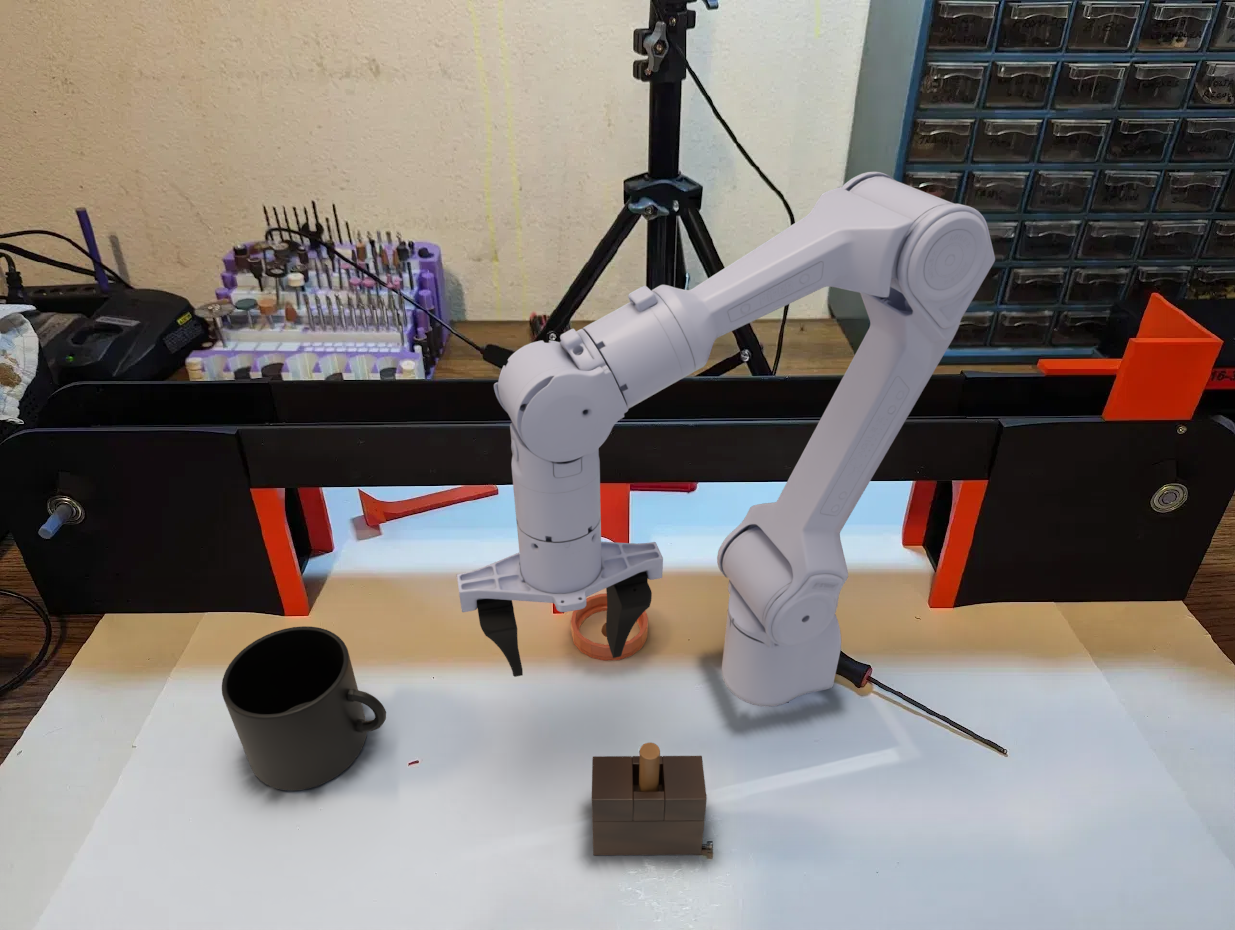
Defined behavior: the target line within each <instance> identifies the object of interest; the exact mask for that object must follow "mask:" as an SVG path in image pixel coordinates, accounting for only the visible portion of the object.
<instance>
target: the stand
mask: <svg viewBox="0 0 1235 930" xmlns="http://www.w3.org/2000/svg"><path fill="white" fill-rule="evenodd" d="M703 761H704V760H703V755H660V764H659V787H658V791H641V792H639V762H640V755H633V756H632V755H620V756H619V755H616V756H615V755H614V756H613V755H611V756H610V755H607V756H605V755H603V756H601V755H599V756H597V755H595V756H592V765H591V766H592V767H591V768H592V770H591V827H592V854H593V856H680V855H681V856H685V855H687V856H689V855H690V856H693V855H694V856H695V855H696V856H697V855H702V850H703V839H704V829H705V819H706V812H707V801H708V798H707V790H706V781H705V780H706V779H705V771H704V762H703Z"/></svg>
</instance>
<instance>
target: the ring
mask: <svg viewBox="0 0 1235 930" xmlns="http://www.w3.org/2000/svg"><path fill="white" fill-rule="evenodd" d="M600 612H607V592H605V593H599V594H598V593H597V594H594V595H590V596H588V597H586V607H585V608H583V609H580V610H574V611H572V613H571V619H570V633H571V638H572V642H573V644H574V646H575V647H576V648H577V649H578V650H579V651H580V652H581V653H582V654H584V655H586V656H588V657H590V658H592V659H595V660H600V661H606V662H607V661H608V662H609V661H620V660H624V659H626V658H629V657H631V656H633V655H635V654H636V653H638V651H640V650H642V648H643V646H644V645H645V643H646V641H647V639H648V633H649V632H648V631H649V616H648V613H647V610H645V611H644V612H643V613H642V614H641V616H640V617H639V618H638V619H637V621H636V622H635V623H637V626H638V628H639V632H638V633H637V634H636V635H634V636H633V637H632V638H630V639H629V640H626V643H625V645H624V648H623V652H622V655H621V657H616V658H613V656H612V653H611V650H610V647H609V644H604V643H599V642H594V641H592V640H590V639H588V638H587V637H585V636H584V635H583V634H582V633H581V632H580V630H581V626H582V624H583V623H584V622H585V620H586V619H587V618H589V617H591V616H592V615H594V614H597V613H600Z"/></svg>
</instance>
